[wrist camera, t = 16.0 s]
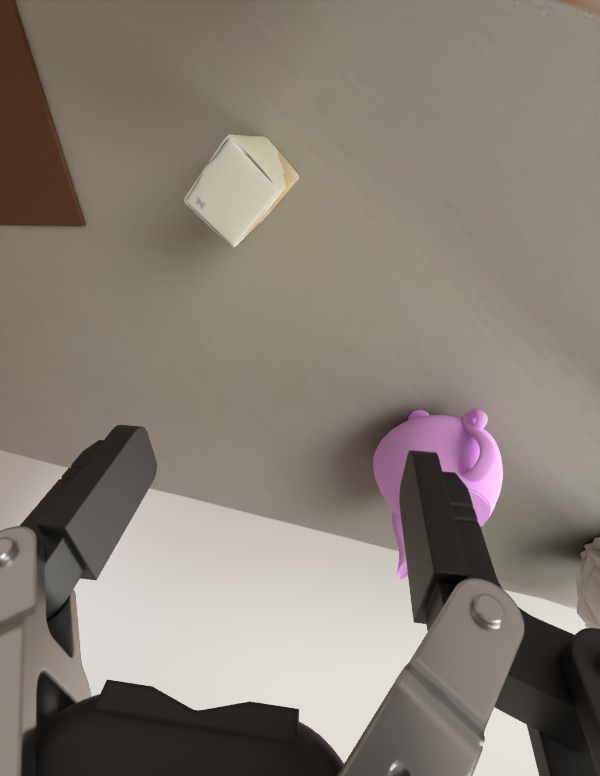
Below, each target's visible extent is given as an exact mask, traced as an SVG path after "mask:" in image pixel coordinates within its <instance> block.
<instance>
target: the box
mask: <svg viewBox="0 0 600 776" xmlns="http://www.w3.org/2000/svg"><path fill="white" fill-rule="evenodd" d="M298 179H299V175H298V174H297V172H296V171H295V170H294V169H293V167H292V166H291V165H290V164H289V163H288V161H287V160H286V159H285V158H284V157H283V156H282V154H281V153H280V152H279V151H278V150H277V149H276V148H275V146H274V145H273V144H272V143H271V142H270V141H269V140H268V139H267V138H266V137H264V136H244V135H228V136H227V137H226V138H225V139H224V141H223V142H222V144H221V145H220V146H219V148H218V149H217V150H216V152H215V153H214V155H213V156H212V158H211V159H210V161H209V162H208V164H207V165H206V167H205V168H204V170H203V171H202V173H201V174H200V176H199V177H198V179H197V180H196V182H195V183H194V185H193V186H192V188H191V189H190V191H189V192H188V194H187V196H186V197H185V199H184V202H185V203H186V204H187V205H188V206H189V207H190V208H191V209H192V210H193V211H194V212H195V213H196V214H197V215H198V216H199V217H200V218H201V219H202V220H203V221H204V222H205V223H206V224H207V225H209V226H210V227H211V228H212V229H213V230H214V231H215V232H216V233H217V234H218V235H219V236H220V237H222V238H223V239H224V240H225V241H226V242H227V243H228V244H229V245H230V246H232V247H236V246H237V245H238V243H239V242H240V241H242V240H243V239H244V238H245V237H246V236H247V235H248V234H249V233H250V232H251V231H252V230H253V229H254V228H255V227H256V226H257V225H258V224H259V223H261V222H262V221H263V220H264V219H265V218H266V217H267V215H268V214H269V213H270V212H271V211H272V210H273V209H274V207H275V206H276V205H277V204H278V203H279V202H280V200H281V199H282V198H283V197H284V196H285V194H286V193H287V192H288V191H289V190H290V188H291V187H292V186H293V185H294V184H295V182H296V181H297V180H298Z"/></svg>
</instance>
